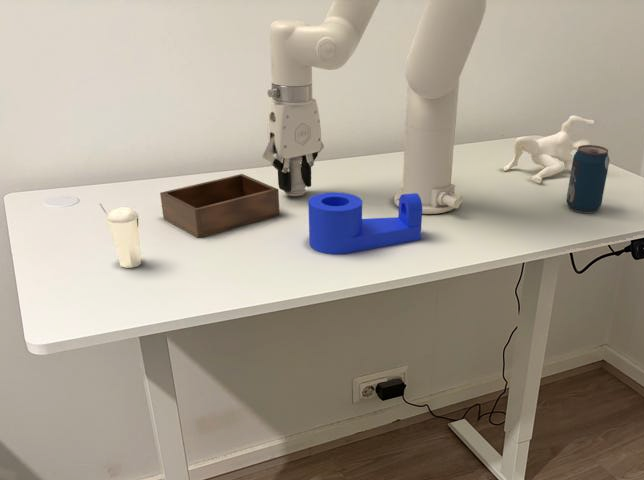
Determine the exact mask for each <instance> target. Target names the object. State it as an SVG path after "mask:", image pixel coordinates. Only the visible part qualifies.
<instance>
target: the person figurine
mask: <svg viewBox="0 0 644 480" xmlns="http://www.w3.org/2000/svg"><path fill="white" fill-rule="evenodd" d="M574 124H587V125H588V126H591V127H593V125H594V124H595V121H594V119H587V118H583V117H581V116H578V115H571V116H569V117H568V119H567V120H566V121H565V122H563V123H562V125H561V130H560V131H559V132H557V133H555V134H552V135H546V136H544V137H541V138H537V139H534V138H533V137H532V136H527V135H526V136H525V135H523V136H520V137H517V138H516V139H515V141H514V144H513V145H514V146H513V149H514V150H513V151H514V156H513V159H512V160H511V161H510V162H509V163H508V164H506V165H504V166H503V171H504V172H507V171H509V170H511V169H512V168H515V167H518V162H519V160H520V158H521V156H522V155H523V153H524V152H526V153H528V154H529V155H530V158H531V160H532V162H533V163H534V164H536V165H538V166H541V167H543V168H542V170H540V171H539V172H537V173H536V174H534V175H531V176H530V179H531V181H532V182H535V183H536V184H541V183H542V181H543V178H544V177H551V176H555V175H556V174H558V173H561V172H563V171H564V169H566V170H567V171H569V172H571V169H572V163H573V157H574V156H573V155H572V154H571V153H572V152H573V151H574V150H575V151H577V150H578V147H579V146H582V145H592V144H591V141H590V140H588V139H584V138H580V139H579V140H576V141H575V139H574V138H573V137H572V136H571V134H572V132H573V131H572V130H573V129H572V128H573V127H574Z"/></svg>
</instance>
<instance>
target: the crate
mask: <svg viewBox="0 0 644 480" xmlns="http://www.w3.org/2000/svg"><path fill="white" fill-rule="evenodd" d="M279 194H280V193H279V188H277V187H274V186H271V185H269V184H267V183H264V182H262V181H260V180H257V179H256V178H253V177H250V176H248V175H246V174H244V173H239V174H236V175H230V176H227V177H221V178H218V179H214V180H209V181H205V182H200V183H196V184H191V185H188V186H183V187H179V188H174V189H170V190H165V191H160V193H159V195H160V203H161V209H162V216H163V217H162V218H163V220H165V221H167V222H169V223H170V224H171V225H174V226H175V227H177V228H179V229H181V230H183V231H184V232H186V233H189V234H190V235H192V236H194V237H196V238H197V239H198V238H203V237H206V236H210V235H212V234H217V233H220V232H224V231H227V230H230V229H234V228H238V227H241V226H245V225H249V224H253V223H255V222H259V221H263V220H266V219H267V220H268V219H270V218H273V217H277V216H280V215H281V214H280V195H279Z"/></svg>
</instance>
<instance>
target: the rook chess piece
mask: <svg viewBox="0 0 644 480" xmlns="http://www.w3.org/2000/svg"><path fill="white" fill-rule="evenodd" d="M301 160H302V157H301V156H298V157H293V158H290V160H289V167H288V172H290V173H291V191H290V192H286V191H284V190H283V192H284V193H285V195H287V196H290V197H301V196H304V195H305V194H306V193H307V189H306V187H307V186H306V185H305V183H304V182H303V180H302V176H301Z"/></svg>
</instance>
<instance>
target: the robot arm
mask: <svg viewBox="0 0 644 480" xmlns="http://www.w3.org/2000/svg"><path fill="white" fill-rule="evenodd" d="M380 1H381V0H333V1H332V3H331V6H330V8H329V10H328V12H327V14H326V16H325V18H324V20H323V22H322V24H319V25H309V24H308V22H306V21H302V20H297V19H278V20H275V21H273V22H272V23H271V24H270V25H269V30H268V31H269V32H268V33H269V54H270V56H269V57H270V75H271V89H268V90H267V96H268V97H269V98H272V99H271V100H270V101H269V105H268V113H267V146H266V147H265V150H264V152H263V154H262V159H263V160H264V161H266V162H267V163H270V165H271V166H273V167H274V169H275V170H276V171H277V184H278V189H279V190H281V191H283V192H284V191H286V192H290V191H291V173H290V172H288V167H289V160H290V158H293V157H298V156H301V157H302V160H301V162H300V164H301V176H302V180H303V182H304V183H305V185H306V187H307V188H310V187H312V167H314V166H315V160H316V159H317V157H318V155H319V154H320V153H321V152H322V150H323V149H324V147H325V145H324V143H323V141H322V129H321V120H320V118H321V117H320V113H319V108H318V103H317V100H316V99H315V98H313V68H317V69H322V70H326V71H335V70H338V69H340V68H342V67H343V66H345V65H346V64H347V62H348V61H349V60H350V58H351V57H352V56H353V54H355V52H356V50H357V47H358V46H359V44H360V42H361V39H362V38H363V35H364V34H365V31H366V30H367V28H368V25H369V23H370V21H371V19H372V18H373V15H374V14H375V11H376V8H377V6H378V5H379V3H380ZM486 8H487V0H426V4H425V6H424V9H423V12H422V15H421V17H420V20H419V23H418V26H417V28H416V30H415V31H416V32H415V34H414V37H413V40H412V43H411V46H410V48H409V51H408V53H407V56H406V59H405V64H404V76H405V80H406V82H407V85H406V87H407V88H406V100H405V101H406V102H405V103H406V104H405V122H404V145H403V166H402V167H403V168H402V170H403V171H402V190H400V191H398V192H396V193H395V195H394V196H393V197H394V198H393V202H394V204H395V205H396V206H397V207H398V208H399V199H400V196H401V195H402V194H413V193H417V194H418V195H419V196H420V199H421V202H422V215H423V214H424V215H437V214H444V213H447V212H448V213H449V212H451V211H453V210H454V209H458V208H459V207H460V206H461V203H463V201H464V196H463V195H461V194H459V193H455V191H456V184H454V183H452V174H453V162H454V149H455V137H456V125H457V115H458V113H457V112H458V101H459V88H460V77H461V74H462V73H463V70H464V67H465V65H466V62H467V60H468V58H469V55H470V52H471V50H472V48H473V45H474V42H475V41H476V38H477V36H478V32H479V30H480V27H481V25H482V22H483V19H484V16H485V13H486ZM274 155H275V156H274Z"/></svg>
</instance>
